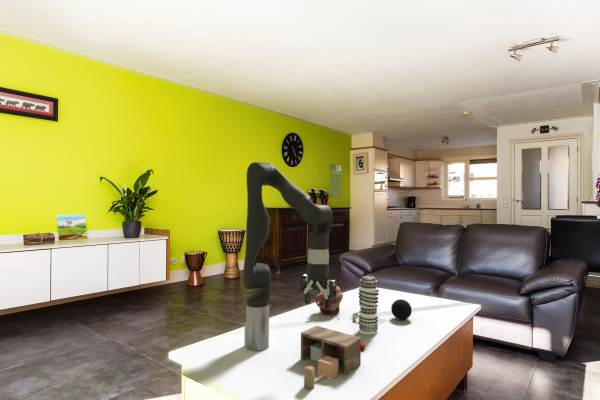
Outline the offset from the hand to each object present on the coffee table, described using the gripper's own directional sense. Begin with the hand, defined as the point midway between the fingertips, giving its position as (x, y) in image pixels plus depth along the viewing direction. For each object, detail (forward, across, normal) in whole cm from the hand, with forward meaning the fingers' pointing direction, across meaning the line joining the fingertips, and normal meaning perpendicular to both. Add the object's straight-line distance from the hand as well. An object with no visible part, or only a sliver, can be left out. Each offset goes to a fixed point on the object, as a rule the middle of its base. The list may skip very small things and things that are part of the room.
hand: (317, 306), depth 128 cm
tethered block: (+22, +6, -6) cm, 24 cm away
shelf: (+22, +1, +8) cm, 24 cm away
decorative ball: (+23, 0, +72) cm, 76 cm away
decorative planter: (+24, -33, +55) cm, 69 cm away
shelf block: (+23, -4, +8) cm, 24 cm away
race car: (+23, 0, +23) cm, 33 cm away
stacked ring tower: (+23, -4, +46) cm, 51 cm away
